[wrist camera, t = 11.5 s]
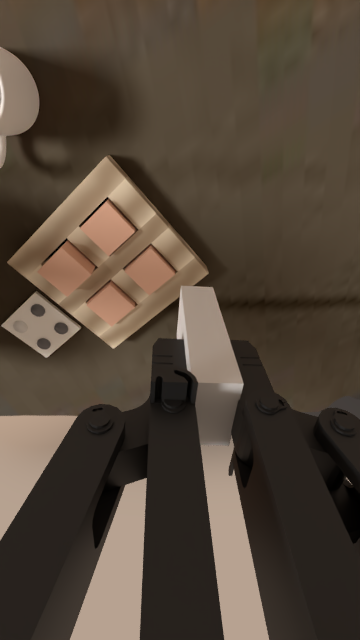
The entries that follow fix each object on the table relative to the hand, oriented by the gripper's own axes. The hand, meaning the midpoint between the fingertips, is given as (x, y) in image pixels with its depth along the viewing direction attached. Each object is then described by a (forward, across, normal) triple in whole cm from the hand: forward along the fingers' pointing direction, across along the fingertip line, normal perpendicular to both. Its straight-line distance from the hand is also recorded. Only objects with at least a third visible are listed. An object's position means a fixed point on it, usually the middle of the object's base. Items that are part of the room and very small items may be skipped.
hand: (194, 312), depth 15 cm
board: (+32, -8, -10) cm, 35 cm away
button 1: (+30, -14, -10) cm, 35 cm away
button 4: (+32, -3, -10) cm, 34 cm away
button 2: (+32, -8, -16) cm, 37 cm away
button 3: (+32, -9, -4) cm, 33 cm away
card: (+32, -20, -22) cm, 44 cm away
